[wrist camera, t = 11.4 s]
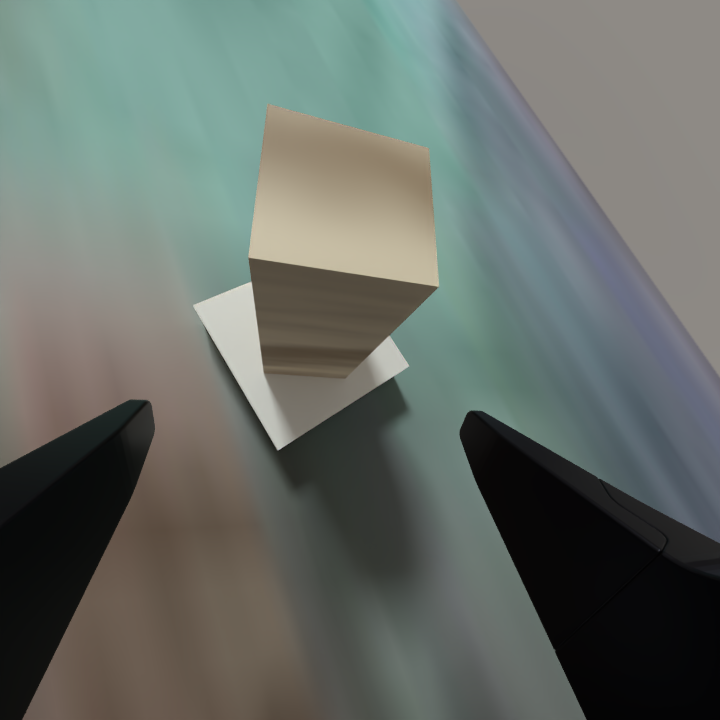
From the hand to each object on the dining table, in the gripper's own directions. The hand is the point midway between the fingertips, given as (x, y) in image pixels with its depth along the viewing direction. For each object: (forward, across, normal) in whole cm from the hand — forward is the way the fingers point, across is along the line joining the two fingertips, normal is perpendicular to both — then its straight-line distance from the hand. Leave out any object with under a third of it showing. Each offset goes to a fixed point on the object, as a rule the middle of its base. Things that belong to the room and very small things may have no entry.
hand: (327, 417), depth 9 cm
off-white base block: (+13, 0, +5) cm, 14 cm away
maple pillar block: (+11, 0, +3) cm, 12 cm away
